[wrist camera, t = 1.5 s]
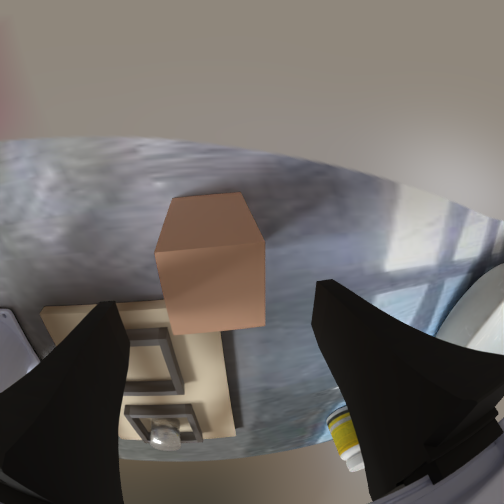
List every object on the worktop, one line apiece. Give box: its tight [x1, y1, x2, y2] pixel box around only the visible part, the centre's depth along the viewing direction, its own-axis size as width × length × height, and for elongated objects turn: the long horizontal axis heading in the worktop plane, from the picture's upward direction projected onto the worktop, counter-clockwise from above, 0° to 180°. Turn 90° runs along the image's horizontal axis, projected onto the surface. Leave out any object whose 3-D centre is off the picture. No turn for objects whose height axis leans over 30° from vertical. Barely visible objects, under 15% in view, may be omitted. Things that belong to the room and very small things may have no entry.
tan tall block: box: [154, 192, 265, 335], centre depth 14 cm, size 4×4×7 cm
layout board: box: [40, 300, 236, 443], centre depth 22 cm, size 14×20×2 cm
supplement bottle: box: [327, 406, 365, 472], centre depth 28 cm, size 5×5×8 cm
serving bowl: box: [435, 263, 504, 355], centre depth 25 cm, size 21×21×7 cm
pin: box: [150, 418, 181, 451], centre depth 23 cm, size 3×3×3 cm
